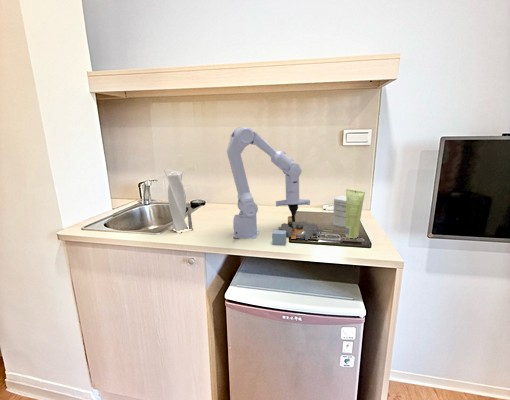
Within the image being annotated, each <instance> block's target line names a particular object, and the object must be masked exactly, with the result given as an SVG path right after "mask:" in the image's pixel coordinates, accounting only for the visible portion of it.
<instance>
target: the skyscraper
mask: <svg viewBox="0 0 510 400" xmlns="http://www.w3.org/2000/svg"><path fill="white" fill-rule="evenodd" d="M168 171H169V172H170V173H169V174H168V173H167V172H168ZM164 174H165V176H166V179H167V182H168V188H167V200H168V205H169V207H168V208H169V212H170V215H171V218H172V221H173V222H172V223H173V224H172V228H173V229H175V230H176V231H180V230H184V229H188V227H187V226H189V229H194V228H193V221H192V213H191V210H190V203H189V202H187V198H186V191H185V188H184V185H183V182H182V178H183V172H182V171H178V170H177V171H176V170H174V169H165V170H164ZM186 213H187V223H186V221H185V220H186ZM187 224H188V225H187Z"/></svg>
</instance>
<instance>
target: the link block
mask: <svg viewBox="0 0 510 400" xmlns="http://www.w3.org/2000/svg"><path fill="white" fill-rule="evenodd" d="M271 234H272V235H271V238H272V239H271V242H272V243H271V244H272V245H274V246H286V244H287V237H286V231H282V230H279V229H277V230H275V229H273V230H272V232H271Z"/></svg>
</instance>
